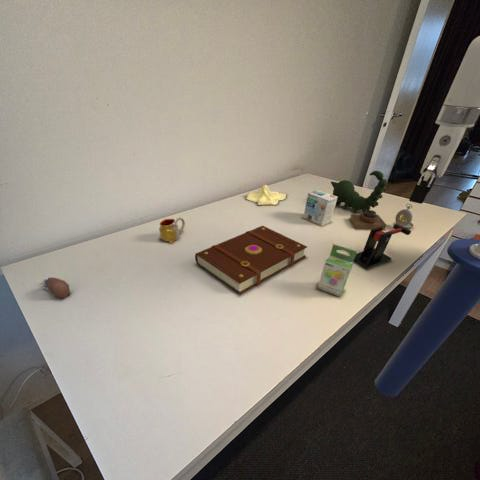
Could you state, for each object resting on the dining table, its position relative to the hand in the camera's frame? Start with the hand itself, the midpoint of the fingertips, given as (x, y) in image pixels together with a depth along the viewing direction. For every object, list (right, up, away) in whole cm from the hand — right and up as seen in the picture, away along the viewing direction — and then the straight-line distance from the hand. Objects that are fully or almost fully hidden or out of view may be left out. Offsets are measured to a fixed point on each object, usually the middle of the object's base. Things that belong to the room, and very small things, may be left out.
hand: (419, 196), depth 70 cm
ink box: (-20, -24, +10) cm, 33 cm away
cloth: (-34, +29, +64) cm, 78 cm away
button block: (+7, +8, +43) cm, 45 cm away
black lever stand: (-2, -12, +23) cm, 26 cm away
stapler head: (+3, -4, +19) cm, 20 cm away
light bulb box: (-14, +11, +46) cm, 49 cm away
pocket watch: (+22, +7, +43) cm, 48 cm away
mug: (-74, 0, +33) cm, 80 cm away
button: (+7, +11, +41) cm, 43 cm away
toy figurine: (+4, +20, +55) cm, 59 cm away
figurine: (-102, -24, +7) cm, 105 cm away
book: (-44, -13, +21) cm, 50 cm away
